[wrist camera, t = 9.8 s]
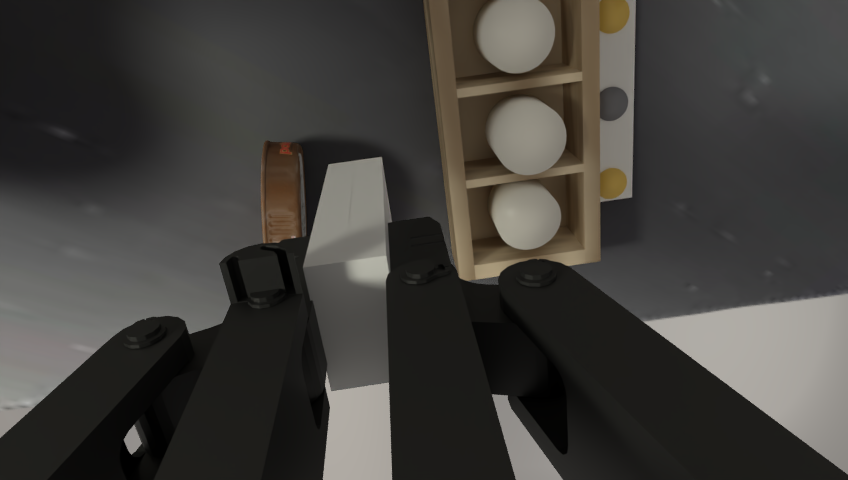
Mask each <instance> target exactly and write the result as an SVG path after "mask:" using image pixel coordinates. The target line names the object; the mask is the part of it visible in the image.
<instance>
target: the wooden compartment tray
mask: <svg viewBox="0 0 848 480" xmlns="http://www.w3.org/2000/svg"><path fill="white" fill-rule="evenodd" d="M488 1H489V0H423V5H424V13H425V22H426V30H427V39H428V48H429V56H430V65H431V74H432V82H433V91H434V99H435V108H436V117H437V125H438V134H439V142H440V151H441V160H442V168H443V177H444V185H445V194H446V203H447V211H448V220H449V229H450V237H451V246H452V254H453V258H454V261H455V265H456V268H457V272H458V275H459V278H461V279H463V280H465V281H469V280H476V279H482V278H489V277H496V276H499V275H500V272H502V271H503V270H504V269H505V268H507V267H508V266H510V265H513V264H516V263H518V262H522V261H528V260H529V259H537V260H539V259H547V260H550V261H555V262H560V263H562V264H564V265H566V266H571V265H577V264H584V263H591V262H598V261H600V17H599V0H539V1H540V2H541V3H543V4H544V5H545V6H546V7H547V9H548V10H549V12H550V13H551V15H552V18H553V21H554V25H555V38H554V43H553V46H552V48H551V51H550V52H549V54H548V56H547V57H546V59H545V60H544V61H543V62H542V63H541V64H540V65H538V66H537V67H536V68H534V69H532V70H530V71H527V72H524V73H508V72H505V71H502V70H500V69H498V68H497V67H495V66H494V65H493V64H491V63H490V62H488V61H487V60H485V59H484V58H483V57H482V56H481V55H480V53H479V52H478V50H477V48H476V46H475V43H474V39H473V25H474V21H475V18H476V16H477V14H478V12H479V11H480V9H481V8H482V7H483V5H484V4H486V3H487V2H488ZM514 94H527V95H531V96H533V97H535V98H537V99H539V100H540V101H541V102H543V103H544V104H546V105H547V106H548V107H550V108H551V109H553V110H554V111H555V112H556V113H557V114H558V115H559V116H560V117H561V119H562V120H563V122H564V125H565V128H566V135H567V137H566V145H565V148H564V151H563V153H562V155H561V157H560V158H559V159H558V161H557V162H556V163H555V164H554V165H553V166H552V167H550V168H549V169H547V170H546V171H544V172H541V173H538V174H534V175H521V174H517V173H514V172H512V171H510V170H509V169H507V168H506V167H505V166H504V165H503V164H502V163H501V161H500V160H499V158H498V157H497V156H496V154H495V153H494V151H493V150H492V149H491V147H490V145H489V144H488V142H487V139H486V134H485V125H486V120H487V117H488V115H489V113H490V111H491V110H492V108H493V107H494V106H495V105H496V104H497V103H498V102H499V101H500V100H502V99H503V98H505V97H507V96H510V95H514ZM530 179H538V180H539V181H540V182H541V183H542V184H543V186H544V187H545V188H546V189H547V190H548V191H549V193H550V194H551V195H552V196H553V197H554V199H555V200H556V201H557V203H558V205H559V207H560V211H561V222H560V226H559V228H558V230H557V232H556V234H555V235H554V236H553V238H552V239H551V240H550V241H548V242H547V243H546V244H544V245H542V246H540V247H538V248H535V249H529V250H522V249H517V248H514V247H512V246H510V245H508V244H507V243H506V242H505V241H504V240H503V239H502V238H501V236H500V234H499V232H498V230H497V228H496V226H495V224H494V222H493V220H492V218H491V216H490V214H489V211H488V198H489V195H490V192H491V190H492V189H493V187H494V186H495V185H496V184H502V183H509V182H516V181H523V180H530Z"/></svg>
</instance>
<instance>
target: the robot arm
mask: <svg viewBox="0 0 848 480" xmlns="http://www.w3.org/2000/svg"><path fill="white" fill-rule="evenodd" d="M219 265H220V268H221V272H222V275H223V278H224V282H225V285H226V288H227V292H228V295H229V299H230V302H231V305H230V307H229V310H228V312H227V314H226V317H225V319H224V321H223V323H222V324H219V325H217V326H214V327H211V328H208V329H205V330H202V331H198V332H195V333H192V334H189V333H188V330H187V327H186V324H185V321H183V320H182V319H180V318H179V317H172V316H163V317H150V318H146V320H145V319H143V320H140V321H137V322H135V323H134V324H133V325H131V326H129V327H127V328H125V329H123V330H122V331H120V332H119V333H117V334H116V335H115V336H113V337H112V338H111V339H110V340H109V341H107V342H106V343H105V344H104V345H103V346H102V347H101V348H100V349H99V350H97V351H96V352H95V353H94V354H93V355H92V356H91V357H90V358H89V359H87V360H86V361H85V362H84V363H83V364H82V365H81V366H80V367H79V368H78V369H76V370H75V371H74V372H73V373H72V374H71V375H70V376H69V377H68V378H66V379H65V380H64V381H63V382H62V383H61V384H60V385H59V386H58V387H56V388H55V389H54V390H53V391H52V392H51V393H50V394H49V395H48V396H46V397H45V398H44V399H43V400H42V401H41V402H40V403H39V404H38V405H36V406H35V407H34V408H33V409H32V410H31V411H30V412H29V413H28V414H27V415H25V416H24V417H23V418H22V419H21V420H20V421H19V422H18V423H17V424H16V425H14V426H13V427H12V428H11V429H10V430H9V431H8V432H7V433H5V434H4V435H3V436H2V437H1V438H0V480H323V471H324V459H325V451H326V441H327V431H328V420H329V410H330V406H329V401H328V397H327V393H326V388H325V380H326V372H327V374H328V379H329V383H330V387H331V391H335V390H342V389H348V388H355V387H361V386H368V385H374V384H381V383H387V382H389V393H390V421H391V422H390V423H391V453H392V480H516V479H515V476H514V472H513V469H512V465H511V462H510V458H509V454H508V451H507V447H506V444H505V440H504V436H503V433H502V429H501V426H500V423H499V419H498V416H497V412H496V408H495V405H494V401H493V397H492V394H497V395H508V400H509V403H510V406H511V408H512V410H513V411H514V413H515V414H516V415H517V417H518V418H519V419H520V421H521V422H522V424H523V425H524V426H525V427H526V429H527V430H528V432H529V433H530V435H531V436H532V437H533V439H534V440H535V441H536V443H537V444H538V445H539V447H540V448H541V450H542V451H543V452H544V454H545V455H546V457H547V458H548V459H549V461H550V462H551V463H552V465H553V466H554V468H555V469H556V470H557V472H558V473H559V474H560V476H561V477H562V479H563V480H848V475H847V474H846V473H845V472H843V471H842V470H841V469H839V468H838V467H837V466H835V465H834V464H833V463H831V462H830V461H829V460H827V459H826V458H825V457H823V456H822V455H821V454H819V453H818V452H816V451H815V450H814V449H812V448H811V447H810V446H809V445H807V444H806V443H805V442H803V441H802V440H800V439H799V438H798V437H797V436H795V435H794V434H792V433H791V432H790V431H788V430H787V429H786V428H784V427H783V426H782V425H780V424H779V423H778V422H776V421H775V420H774V419H772V418H771V417H770V416H768V415H767V414H766V413H764V412H763V411H762V410H760V409H759V408H758V407H756V406H755V405H754V404H752V403H751V402H750V401H748V400H747V399H745V398H744V397H743V396H742V395H740V394H739V393H737V392H736V391H735V390H733V389H732V388H731V387H729V386H728V385H727V384H726V383H724V382H723V381H722V380H720V379H719V378H718V377H716V376H715V375H713V374H712V373H711V372H709V371H708V370H707V369H705V368H704V367H702V366H701V365H700V364H699V363H697V362H696V361H695V360H693V359H692V358H691V357H689V356H688V355H687V354H685V353H684V352H683V351H681V350H680V349H679V348H677V347H676V346H675V345H673V344H672V343H671V342H669V341H668V340H667V339H665V338H664V337H662V336H661V335H660V334H659V333H657V332H656V331H655V330H653V329H652V328H651V327H649V326H648V325H647V324H645V323H644V322H643V321H641V320H640V319H639V318H637V317H636V316H635V315H633V314H632V313H630V312H629V311H628V310H626V309H625V308H624V307H622V306H621V305H620V304H618V303H617V302H616V301H614V300H613V299H612V298H610V297H609V296H608V295H606V294H605V293H604V292H602V291H601V290H600V289H598V288H597V287H596V286H594V285H593V284H592V283H590V282H589V281H588V280H586V279H585V278H584V277H582V276H581V275H580V274H578V273H577V272H576V271H574V270H573V269H572V268H570V267H568V266H566V265H564V264H562V263H560V262H555V261H550V260H547V259H539V260H537V259H529V260H528V261H522V262H518V263H516V264H513V265H510V266H508V267H507V268H505V269H504V270H503V271H502V272H500V275H499V278H498V283H499V285H486V284H476V283H472V282H468V281H465V280H463V279H461V278H459V277H458V273H457V270H456V269H455V267H454V266H453V265H452V264H451V262H450V259H449V255H448V251H447V248H446V244H445V240H444V237H443V233H442V230H441V226H440V223H438V222H437V221H435V220H433V219H432V218H430V217H424V218H417V219H410V220H403V221H396V222H392V219H391V212H390V206H389V200H388V193H387V187H386V181H385V174H384V168H383V162H382V157H377V158H370V159H363V160H356V161H349V162H341V163H334V164H329V165H328V169H327V173H326V177H325V181H324V185H323V189H322V193H321V197H320V201H319V205H318V209H317V213H316V217H315V221H314V225H313V229H312V233H311V236H304V237H297V238H291V239H284V240H281V241H280V242H279V243H276V242H275V243H262V244H257V245H253V246H248V247H246V248H243V249H240V250H238V251H235V252H233V253H232V254H230V255H228V256H227V257H225V258H224V259H223V260H222V261H221V262H220V263H219ZM133 425H135V427H136V430H137V432H138V434H139V437H140V440H141V442H142V444H141V446H140V447H139V448H138V449H137V451H136V452H134V453H133V454H132V455H131V454H130V453H129V451H128V449H127V447H126V445H125V442H124V438H125V436H126V434H127V433H128V431H129V430H130V429H131V428H132V426H133Z"/></svg>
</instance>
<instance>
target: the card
mask: <svg viewBox="0 0 848 480" xmlns="http://www.w3.org/2000/svg"><path fill="white" fill-rule="evenodd" d="M635 14H636V0H599V17H600V202H604V201H611V200H617V199H624V198H631V197H632V171H633V119H634V66H635Z"/></svg>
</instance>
